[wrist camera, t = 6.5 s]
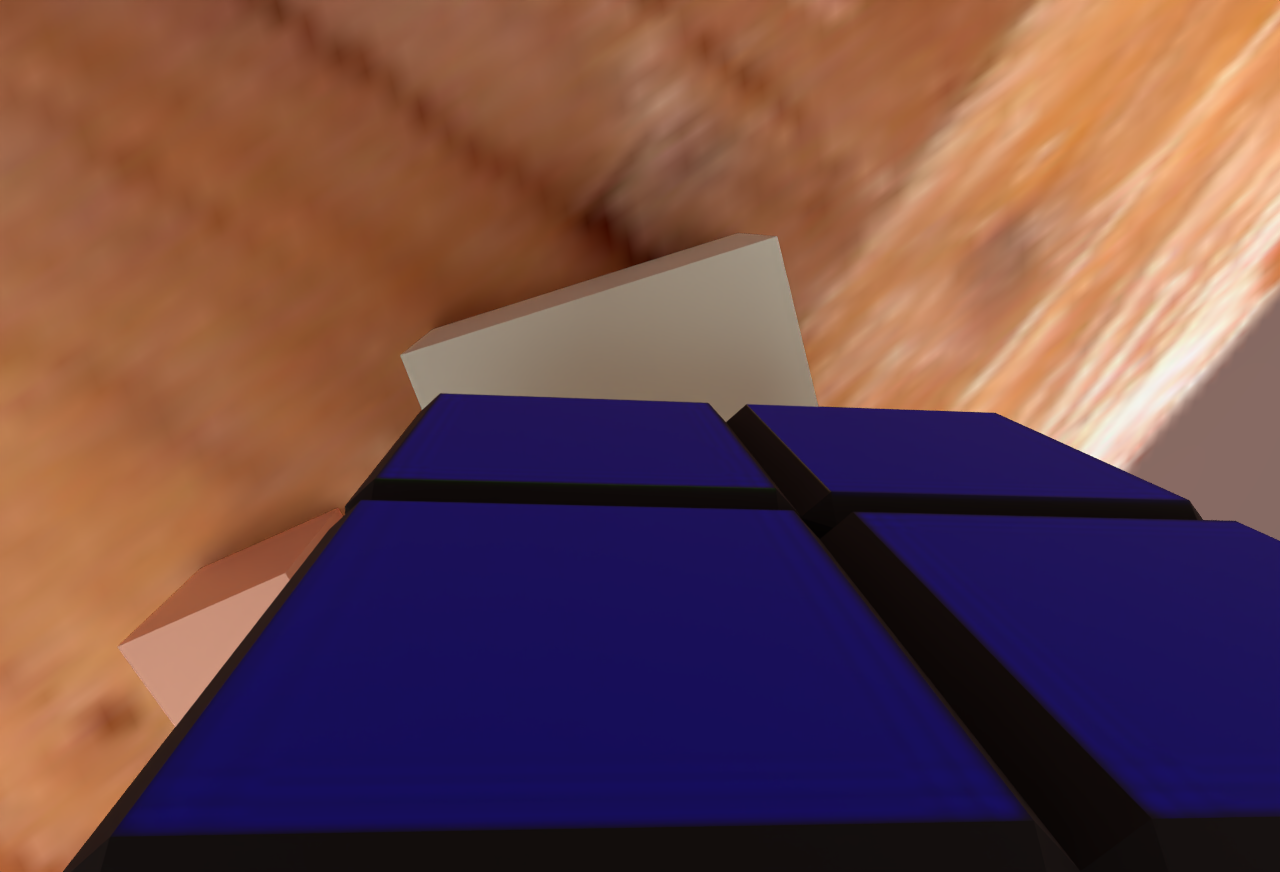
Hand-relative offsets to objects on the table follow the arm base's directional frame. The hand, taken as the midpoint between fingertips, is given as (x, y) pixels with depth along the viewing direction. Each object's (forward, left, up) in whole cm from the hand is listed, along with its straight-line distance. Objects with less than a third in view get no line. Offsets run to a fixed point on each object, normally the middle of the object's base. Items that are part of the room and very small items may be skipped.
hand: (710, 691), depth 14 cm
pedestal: (0, 0, -18) cm, 18 cm away
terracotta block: (+5, -14, -18) cm, 23 cm away
